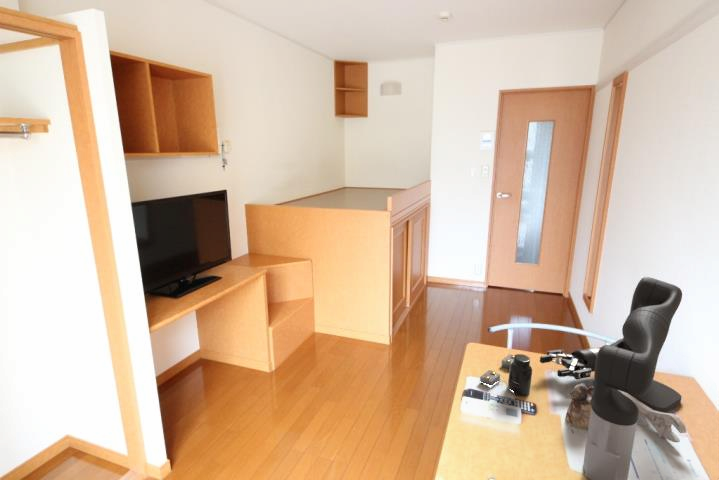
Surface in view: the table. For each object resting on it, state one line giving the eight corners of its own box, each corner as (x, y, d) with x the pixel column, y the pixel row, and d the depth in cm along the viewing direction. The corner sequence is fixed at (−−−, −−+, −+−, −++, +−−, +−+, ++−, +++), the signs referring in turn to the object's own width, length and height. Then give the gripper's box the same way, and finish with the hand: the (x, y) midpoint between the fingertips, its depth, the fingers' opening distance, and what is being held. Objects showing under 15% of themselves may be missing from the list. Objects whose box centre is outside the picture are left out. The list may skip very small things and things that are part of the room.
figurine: (566, 410, 120) (570, 375, 117) (593, 418, 117) (598, 382, 114) (564, 424, 114) (568, 387, 111) (592, 432, 111) (597, 395, 108)
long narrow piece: (490, 388, 131) (491, 380, 131) (480, 383, 134) (480, 375, 134) (519, 364, 145) (520, 357, 145) (509, 360, 148) (509, 353, 148)
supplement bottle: (508, 394, 128) (511, 361, 125) (507, 382, 134) (509, 351, 132) (531, 398, 126) (534, 364, 123) (528, 386, 132) (532, 353, 130)
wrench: (603, 393, 133) (685, 451, 103) (598, 394, 132) (678, 451, 103) (605, 371, 132) (687, 422, 102) (599, 371, 131) (680, 422, 102)
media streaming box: (661, 417, 117) (662, 408, 116) (610, 391, 129) (611, 383, 128) (685, 402, 124) (686, 393, 123) (634, 378, 136) (636, 371, 135)
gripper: (575, 340, 140) (536, 346, 137) (609, 360, 127) (565, 367, 123) (573, 359, 142) (534, 365, 139) (606, 381, 129) (563, 389, 125)
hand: (549, 366), depth 131 cm, fingers open, 8 cm apart
